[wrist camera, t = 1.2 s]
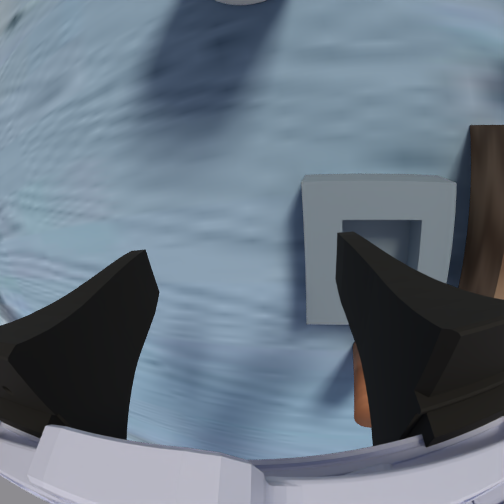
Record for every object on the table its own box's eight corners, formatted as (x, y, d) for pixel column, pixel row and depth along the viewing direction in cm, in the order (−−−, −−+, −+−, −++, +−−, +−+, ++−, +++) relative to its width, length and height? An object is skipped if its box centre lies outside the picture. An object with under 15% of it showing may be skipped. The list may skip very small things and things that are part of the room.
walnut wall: (478, 314, 21) (503, 355, 16) (451, 316, 22) (473, 359, 16) (499, 130, 15) (543, 132, 10) (469, 125, 16) (511, 125, 11)
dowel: (384, 359, 25) (392, 426, 18) (351, 360, 26) (351, 427, 18) (389, 332, 24) (402, 399, 17) (354, 332, 25) (357, 401, 17)
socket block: (425, 295, 22) (438, 322, 18) (310, 296, 25) (306, 324, 21) (436, 174, 19) (456, 183, 15) (305, 174, 21) (301, 181, 18)
